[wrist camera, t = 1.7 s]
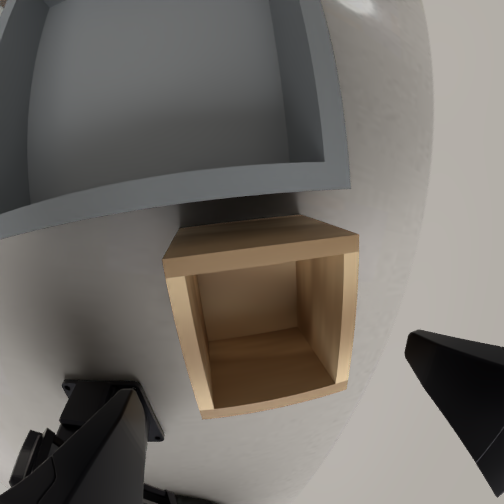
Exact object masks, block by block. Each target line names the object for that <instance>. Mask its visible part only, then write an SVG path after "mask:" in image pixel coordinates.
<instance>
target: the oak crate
mask: <svg viewBox="0 0 504 504" xmlns="http://www.w3.org/2000/svg"><path fill="white" fill-rule="evenodd" d="M162 262H163V267H164V273H165V278H166V283H167V288H168V293H169V298H170V303H171V307H172V312H173V316H174V321H175V325H176V329H177V333H178V337H179V341H180V345H181V349H182V353H183V357H184V360H185V364H186V367H187V371H188V375H189V378H190V381H191V385H192V388H193V391H194V395H195V398H196V401H197V404H198V407H199V410H200V413H201V416H202V419H212V418H221V417H228V416H235V415H242V414H248V413H254V412H260V411H265V410H270V409H275V408H279V407H284V406H288V405H293V404H297V403H301V402H305V401H309V400H312V399H316V398H320V397H323V396H326V395H330V394H333V393H336V392H340V391H343V390H346V388H347V382H348V376H349V369H350V362H351V355H352V347H353V338H354V328H355V317H356V305H357V289H358V267H359V234H356V233H353V232H351V231H348V230H345V229H342V228H339V227H336V226H333V225H330V224H327V223H325V222H322V221H319V220H316V219H313V218H309V217H306V216H303V215H289V216H279V217H270V218H260V219H251V220H242V221H233V222H225V223H217V224H209V225H201V226H193V227H185V228H179V230H178V232H177V233H176V235H175V237H174V239H173V240H172V242H171V244H170V246H169V248H168V250H167V251H166V253H165V255H164V257H163V259H162Z"/></svg>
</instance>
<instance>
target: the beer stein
mask: <svg viewBox="0 0 504 504" xmlns="http://www.w3.org/2000/svg"><path fill="white" fill-rule="evenodd" d="M174 496H175V499H176V502H177V504H217V503H214V502H211V501H207V500H203V499H196V498H190V497H184V496H178V495H174Z"/></svg>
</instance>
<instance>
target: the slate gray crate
mask: <svg viewBox="0 0 504 504" xmlns="http://www.w3.org/2000/svg"><path fill="white" fill-rule="evenodd" d="M335 189H351V185H350V169H349V156H348V146H347V136H346V127H345V119H344V111H343V104H342V97H341V91H340V85H339V79H338V73H337V68H336V63H335V58H334V53H333V48H332V44H331V39H330V35H329V31H328V27H327V23H326V19H325V15H324V11H323V8H322V4H321V1H320V0H7V2H6V4H5V7H4V9H3V11H2V13H1V16H0V239H4V238H8V237H11V236H15V235H19V234H23V233H27V232H31V231H35V230H39V229H44V228H48V227H53V226H57V225H62V224H66V223H71V222H76V221H81V220H86V219H91V218H96V217H101V216H107V215H112V214H118V213H124V212H129V211H135V210H142V209H148V208H154V207H161V206H168V205H175V204H182V203H190V202H197V201H205V200H214V199H223V198H232V197H241V196H251V195H262V194H274V193H287V192H301V191H316V190H335Z"/></svg>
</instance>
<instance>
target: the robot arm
mask: <svg viewBox="0 0 504 504" xmlns="http://www.w3.org/2000/svg"><path fill="white" fill-rule="evenodd" d="M405 358H406V359H407V361H408V363H409V364H410V366H411V367H412V369H413V371H414V373H415V374H416V376H417V378H418V379H419V381H420V382H421V384H422V386H423V387H424V389H425V390H426V392H427V393H428V395H429V396H430V397H431V399H432V400H433V401H434V403H435V404H436V405H437V407H438V408H439V410H440V411H441V412H442V414H443V415H444V416H445V418H446V419H447V420H448V422H449V424H450V425H451V427H452V428H453V429H454V431H455V432H456V434H457V435H458V437H459V438H460V440H461V441H462V443H463V444H464V446H465V447H466V449H467V450H468V452H469V453H470V455H471V456H472V458H473V459H474V461H475V462H476V464H477V466H478V467H479V469H480V471H481V472H482V474H483V476H484V477H485V479H486V481H487V482H488V484H489V486H490V487H491V489H492V490H493V492H494V494H495V496H496V497H499V496H500V495H501V494H502V493H504V347H500V346H496V345H490V344H485V343H480V342H475V341H470V340H465V339H460V338H455V337H451V336H446V335H441V334H437V333H433V332H428V331H424V330H416V331H413V332H411V333H410V334H409V335H408V339H407V344H406V348H405ZM132 387H134V388H136V389H134V388H132ZM62 388H63V390H64V391H65V393H66V395H67V396H68V398H69V399H68V402H67V404H66V406H65V408H64V410H63V412H62V414H61V417H60V419H59V421H60V423H61V425H60V427H59V429H58V432H57V434H56V435H55V433H54V432H52V431H51V430H50V429H48V428H47V429H46V430H45V431H44V433H43V434H41V433H40V432H39V433H38V432H35V431H32V430H30V431H29V433H28V435H27V437H26V439H25V442H24V444H23V446H22V448H21V450H20V453H19V455H18V458H17V460H16V463H15V466H14V468H13V471H12V474H11V477H10V480H9V484H10V486H11V488H10V489H9V490H7V491H6V492H4V493H3V494H1V495H0V504H177V502H176V499H175V496H174V493H173V492H170V491H168V490H161V489H159V488H156V487H153V486H151V485H148V484H145V483H144V469H145V459H146V450H147V442H161V441H163V440H164V433H163V431H162V429H161V427H160V425H159V423H158V421H157V419H156V417H155V415H154V413H153V411H152V409H151V407H150V405H149V402H148V400H147V398H146V396H145V393H144V391H143V389H142V387H141V385H140V384H139V383H138V382H136V381H83V380H64V381H63V383H62Z"/></svg>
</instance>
